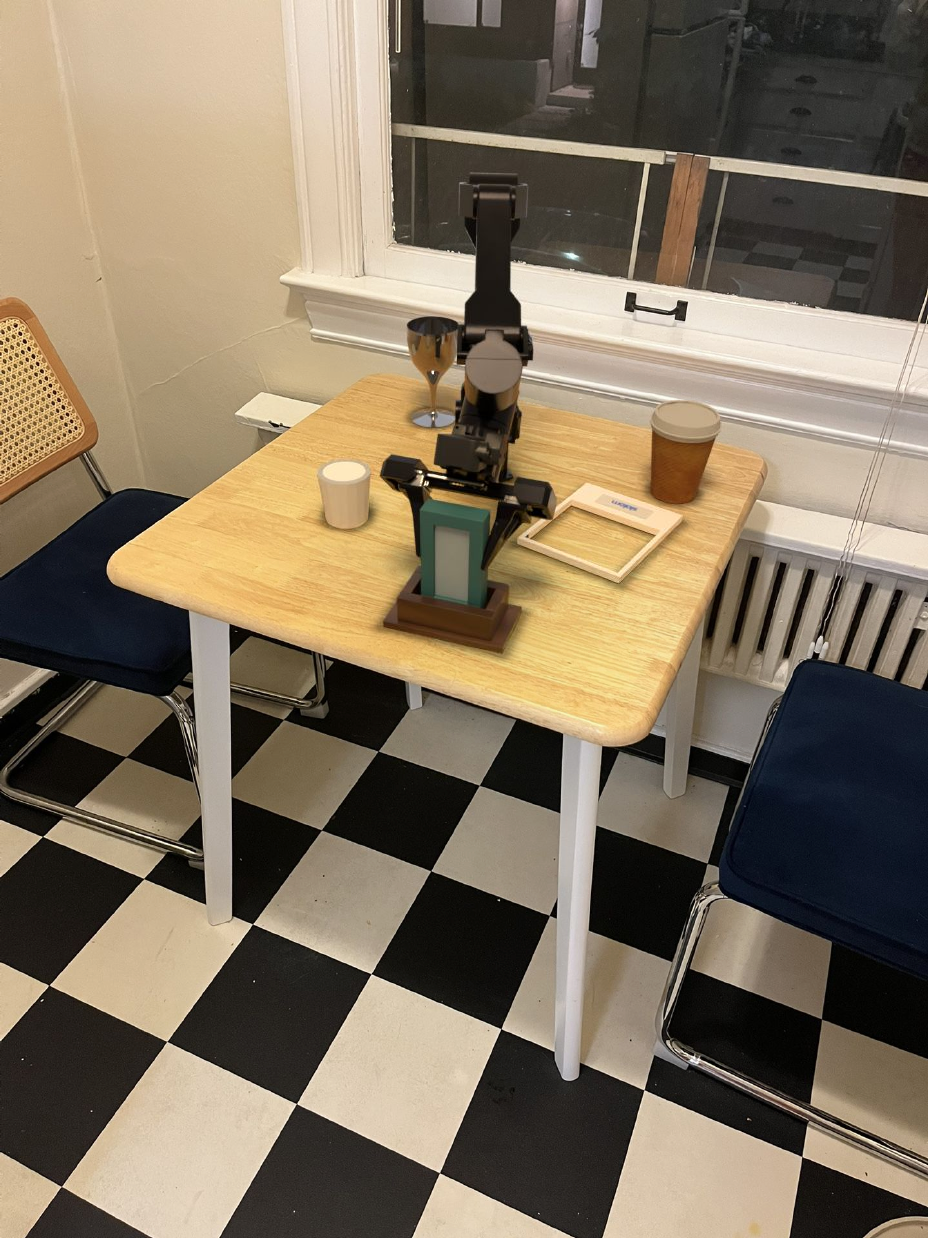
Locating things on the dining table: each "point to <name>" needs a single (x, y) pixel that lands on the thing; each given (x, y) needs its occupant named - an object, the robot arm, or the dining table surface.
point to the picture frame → (454, 552)
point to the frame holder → (455, 616)
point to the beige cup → (345, 492)
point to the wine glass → (432, 361)
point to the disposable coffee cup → (681, 448)
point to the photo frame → (614, 509)
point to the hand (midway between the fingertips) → (450, 563)
